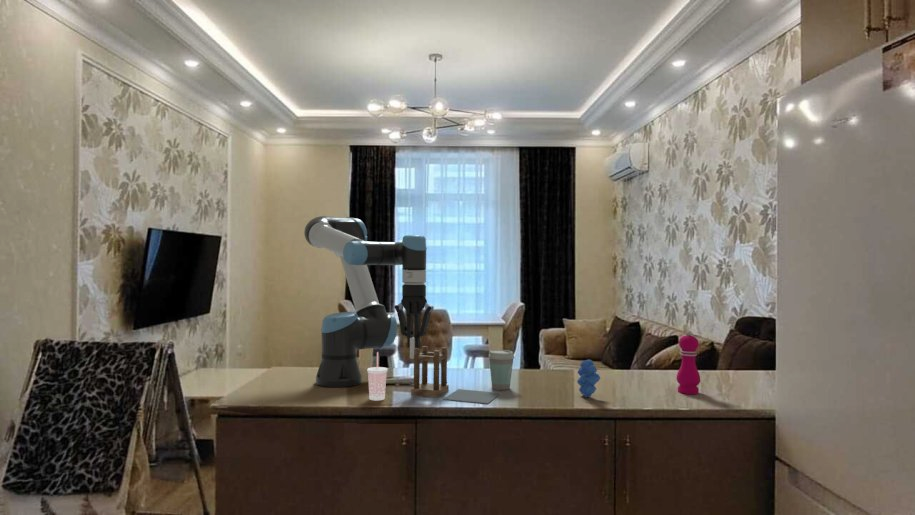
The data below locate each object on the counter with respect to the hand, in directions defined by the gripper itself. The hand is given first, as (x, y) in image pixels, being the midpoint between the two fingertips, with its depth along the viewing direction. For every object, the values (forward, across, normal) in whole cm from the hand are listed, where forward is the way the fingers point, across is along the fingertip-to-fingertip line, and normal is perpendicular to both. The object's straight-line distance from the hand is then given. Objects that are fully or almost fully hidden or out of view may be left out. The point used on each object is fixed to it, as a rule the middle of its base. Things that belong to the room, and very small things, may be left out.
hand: (413, 357), depth 187 cm
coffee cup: (+11, +24, +16) cm, 31 cm away
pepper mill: (+12, +82, +33) cm, 89 cm away
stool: (+11, +6, 0) cm, 12 cm away
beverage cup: (+11, -6, -13) cm, 18 cm away
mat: (+11, +20, 0) cm, 22 cm away
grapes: (+11, +54, +14) cm, 56 cm away
